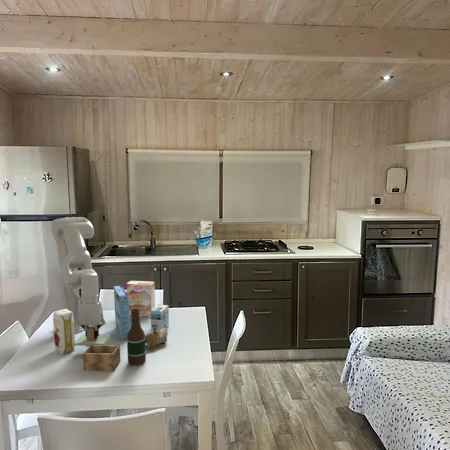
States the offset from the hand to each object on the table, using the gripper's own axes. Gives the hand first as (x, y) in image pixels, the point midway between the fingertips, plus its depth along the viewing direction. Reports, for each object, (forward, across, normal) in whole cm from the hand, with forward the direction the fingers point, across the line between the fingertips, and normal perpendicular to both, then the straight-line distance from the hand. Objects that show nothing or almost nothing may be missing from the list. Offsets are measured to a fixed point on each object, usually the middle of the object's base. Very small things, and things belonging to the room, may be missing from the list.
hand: (92, 337), depth 188 cm
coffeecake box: (+7, +10, +52) cm, 54 cm away
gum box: (+8, +7, +24) cm, 26 cm away
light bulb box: (+8, +25, +33) cm, 42 cm away
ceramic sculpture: (+8, +27, +10) cm, 29 cm away
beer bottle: (+8, +23, -9) cm, 26 cm away
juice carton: (+8, -14, +2) cm, 16 cm away
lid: (+3, 0, 0) cm, 3 cm away
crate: (+8, +9, -13) cm, 17 cm away
